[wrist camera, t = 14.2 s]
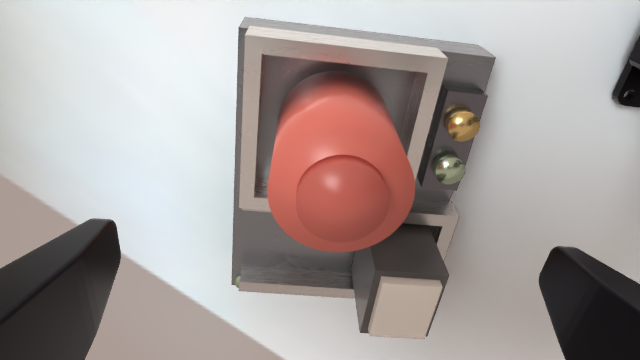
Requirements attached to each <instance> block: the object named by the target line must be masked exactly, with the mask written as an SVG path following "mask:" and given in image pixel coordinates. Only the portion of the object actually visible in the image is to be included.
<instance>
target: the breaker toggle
mask: <svg viewBox="0 0 640 360" xmlns="http://www.w3.org/2000/svg"><path fill="white" fill-rule="evenodd" d="M351 272H352V279H353V286H354V293H355V301H356V308H357V315H358V322H359V330H360V333H369V336H380V337H398V338H415V339H425V336H426V337H427V336H428V333H429V330H430V327H431V324H432V322H433V319H434V316H435V313H436V311H437V308H438V305H439V302H440V299H441V297H442V294H443V291H444V288H445V285H446V283H447V280H448V277H449V274H448V271H447V269H446V266H445V264H444V261H443V259H442V257H441V254H440V252H439V249H438V247H437V244H436V242H435V240H434V237H433V235H432V232H431V230H430V227H429V225H419V224H407V223H402V224H401V225H400V226H399V227H398V228H397V230H396V231H394V232H393V233H392V234H391V235H390V236H388V237H387V238H385V239H384V240H382V241H381V242H379V243H377V244H375V245H372V246H370V247H367V248H364V249H361V250H357V251H355V254H354V259H353V263H352V268H351Z"/></svg>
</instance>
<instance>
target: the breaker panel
mask: <svg viewBox="0 0 640 360" xmlns="http://www.w3.org/2000/svg"><path fill="white" fill-rule="evenodd" d="M495 58H496V57H494V56H493V55H492V54H490V53H489V52H487V51H486V50H485V49H483V48H482V47H480V46H479V45H474V44H465V43H457V42H449V41H440V40H432V39H424V38H415V37H407V36H399V35H391V34H382V33H374V32H366V31H357V30H349V29H341V28H332V27H324V26H316V25H307V24H299V23H291V22H282V21H274V20H266V19H257V18H249V17H245V18H244V19H243V21H242V23H241V24H240V26H239V36H238V72H237V108H236V144H235V180H234V217H233V253H232V285H236V286H237V287H238V288H239V291H247V292H263V293H278V294H294V295H309V296H325V297H340V298H355V293H354V286H353V279H352V272H351V268H352V263H353V259H354V254H355V251H351V252H326V251H321V250H317V249H313V248H310V247H308V246H305V245H303V244H301V243H299V242H297V241H296V240H294V239H293V238H291V237H290V236H289V235H288V234H287V233H285V232H284V231H283V229H282V228H281V227H280V226H279V225H278V223H277V222H276V220H275V219H274V217H273V215H272V213H271V210H270V207H269V203H268V196H267V187H268V181H269V175H270V168H271V162H272V156H273V150H274V143H275V137H276V131H277V125H278V118H279V112H280V109H281V106H282V104H283V101H284V99H285V98H286V96H287V95H288V93H289V92H290V91H291V90H292V89H293V88H294V87H295V86H296V85H297V84H298V83H299V82H301V81H302V80H304V79H306V78H308V77H310V76H312V75H315V74H318V73H322V72H327V71H342V72H347V73H351V74H354V75H357V76H359V77H361V78H363V79H364V80H366V81H367V82H369V83H370V84H371V85H372V86H373V87H374V88H375V89H376V90H377V91H378V92H379V94H380V96H381V97H382V99H383V101H384V103H385V106H386V108H387V110H388V113H389V115H390V118H391V120H392V122H393V125H394V127H395V129H396V132H397V134H398V137H399V139H400V141H401V144H402V146H403V149H404V151H405V153H406V156H407V158H408V160H409V163H410V165H411V168H412V170H413V174H414V178H415V196H414V201H413V204H412V207H411V210H410V211H409V213H408V215H407V217H406V219H405V220H404V221H403V223H407V224H419V225H429V227H430V230H431V232H432V235H433V237H434V240H435V242H436V244H437V247H438V249H439V252H440V254H441V257H442V259H443V261H444V259H445V256H446V253H447V250H448V248H449V245H450V242H451V239H452V236H453V233H454V230H455V227H456V224H457V221H458V218H459V215H458V214H457V212H456V210H455V208H454V206H453V204H452V202H449V201H450V198H451V195H452V192H453V190H457V188H458V185H459V182H460V179H461V178H462V177H463V175H464V173H465V164H466V161H467V158H468V155H469V152H470V149H471V146H472V142H473V139H474V136H475V135H476V134H477V133H478V131H479V127H480V123H479V121H480V118H481V115H482V112H483V109H484V106H485V103H486V100H487V97H488V95H487V94H486V93H485V89H486V86H487V83H488V80H489V77H490V74H491V71H492V68H493V64H494V61H495Z"/></svg>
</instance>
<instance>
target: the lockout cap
mask: <svg viewBox="0 0 640 360" xmlns="http://www.w3.org/2000/svg"><path fill="white" fill-rule="evenodd" d="M267 196H268V203H269V207H270V210H271V213H272V215H273V217H274V219H275V220H276V222H277V223H278V225H279V226H280V227H281V228H282V229H283V231H284V232H285V233H287V234H288V235H289V236H290V237H291V238H293V239H294V240H296V241H297V242H299V243H301V244H303V245H305V246H308V247H310V248H313V249H317V250H321V251H326V252H351V251H357V250H361V249H364V248H367V247H370V246H372V245H375V244H377V243H379V242H381V241H382V240H384V239H385V238H387V237H388V236H390V235H391V234H392V233H393V232H394V231H396V230H397V228H398V227H399V226H400V225H401V224H402V223H403V221H404V220H405V219H406V217H407V215H408V213H409V211H410V210H411V207H412V204H413V201H414V196H415V178H414V174H413V170H412V168H411V165H410V163H409V160H408V158H407V156H406V153H405V151H404V149H403V146H402V144H401V141H400V139H399V137H398V134H397V132H396V129H395V127H394V125H393V122H392V120H391V118H390V115H389V113H388V110H387V108H386V106H385V103H384V101H383V99H382V97H381V96H380V94H379V92H378V91H377V90H376V89H375V88H374V87H373V86H372V85H371V84H370V83H369V82H367V81H366V80H364V79H363V78H361V77H359V76H357V75H354V74H351V73H347V72H342V71H327V72H322V73H318V74H315V75H312V76H310V77H308V78H306V79H304V80H302V81H301V82H299V83H298V84H297V85H296V86H295V87H294V88H293V89H292V90H291V91H290V92H289V93H288V95H287V96H286V98H285V99H284V101H283V104H282V106H281V109H280V112H279V118H278V125H277V131H276V137H275V143H274V150H273V156H272V162H271V168H270V175H269V181H268V187H267Z"/></svg>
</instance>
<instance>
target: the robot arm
mask: <svg viewBox="0 0 640 360" xmlns="http://www.w3.org/2000/svg"><path fill="white" fill-rule="evenodd" d="M628 90H630V91H629V93H628V95H627V96H625V97H624V94H625V93H626V92H627V91H628ZM613 99H614V100H615V101H616V102H618V103H619V104H621V105H624V106H633V107H640V36H639V39H638V41H637V43H636V45H635V47H634V49H633V51H632V53H631V55H630V58H629V60H628V62H627V64H626V66H625V68H624V70H623V72H622V74H621V77H620V79H619V81H618V83H617V85H616V87H615V89H614V91H613ZM120 259H121V251H120V245H119V239H118V233H117V227H116V224H115V222H114V221H113V220H111V219H96V218H93V219H90V220H88V221H86V222H84V223H82V224H80V225H78V226H77V227H75V228H73V229H71V230H70V231H68V232H66V233H64V234H62V235H60V236H59V237H57V238H55V239H53V240H51V241H50V242H48V243H46V244H44V245H42V246H40V247H39V248H37V249H35V250H33V251H31V252H30V253H28V254H26V255H24V256H22V257H21V258H19V259H17V260H15V261H13V262H11V263H9V264H8V265H6V266H4V267H2V268H1V269H0V360H85V357H86V355H87V353H88V351H89V349H90V347H91V345H92V342H93V340H94V338H95V336H96V333H97V330H98V328H99V325H100V322H101V319H102V316H103V313H104V310H105V307H106V304H107V301H108V298H109V295H110V292H111V289H112V285H113V283H114V280H115V276H116V273H117V270H118V267H119V264H120ZM539 286H540V289H541V292H542V295H543V298H544V301H545V304H546V307H547V310H548V313H549V316H550V318H551V321H552V324H553V327H554V330H555V333H556V336H557V339H558V342H559V344H560V347H561V350H562V352H563V355H564V357H565V359H566V360H640V284H638V283H637V282H635V281H633V280H631V279H630V278H628V277H626V276H624V275H623V274H621V273H619V272H618V271H616V270H614V269H612V268H611V267H609V266H607V265H605V264H604V263H602V262H600V261H598V260H597V259H595V258H593V257H591V256H590V255H588V254H586V253H584V252H583V251H581V250H579V249H577V248H575V247H564V246H557V247H554V248H553V249H552V250H551V252H550V254H549V256H548V258H547V260H546V262H545V264H544V267H543V269H542V271H541V273H540V276H539Z"/></svg>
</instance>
